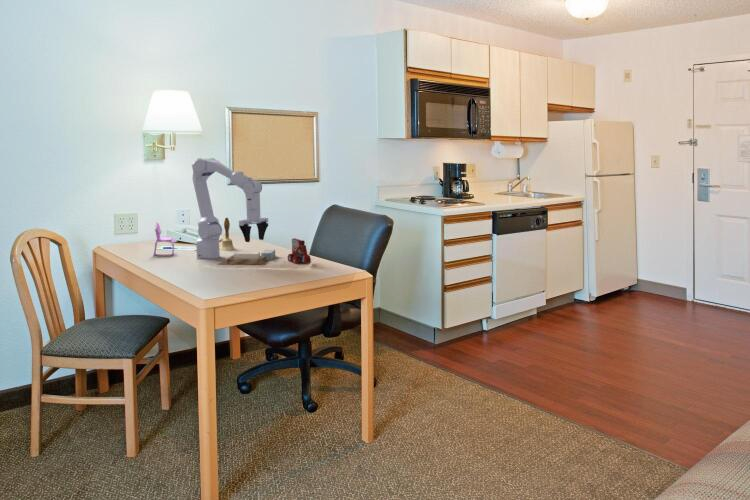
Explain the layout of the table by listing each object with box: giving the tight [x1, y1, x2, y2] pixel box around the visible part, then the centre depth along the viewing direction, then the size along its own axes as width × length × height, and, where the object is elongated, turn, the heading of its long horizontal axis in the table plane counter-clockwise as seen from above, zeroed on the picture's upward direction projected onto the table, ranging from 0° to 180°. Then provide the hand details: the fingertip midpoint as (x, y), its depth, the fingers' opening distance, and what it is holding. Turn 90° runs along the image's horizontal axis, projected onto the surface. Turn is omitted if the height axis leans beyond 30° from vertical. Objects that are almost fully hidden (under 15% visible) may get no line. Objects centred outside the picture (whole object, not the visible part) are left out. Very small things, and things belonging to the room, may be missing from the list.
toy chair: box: [153, 222, 175, 257], centre depth 268 cm, size 8×9×15 cm
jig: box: [216, 254, 273, 266], centre depth 253 cm, size 20×22×3 cm
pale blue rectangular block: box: [260, 249, 276, 261], centre depth 257 cm, size 4×9×3 cm, turn 177°
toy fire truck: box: [287, 238, 312, 265], centre depth 249 cm, size 7×12×10 cm, turn 32°
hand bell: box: [219, 217, 236, 252], centre depth 278 cm, size 8×8×16 cm
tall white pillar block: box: [233, 251, 261, 259], centre depth 248 cm, size 10×4×4 cm, turn 87°
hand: (254, 240), depth 250 cm, fingers open, 7 cm apart
